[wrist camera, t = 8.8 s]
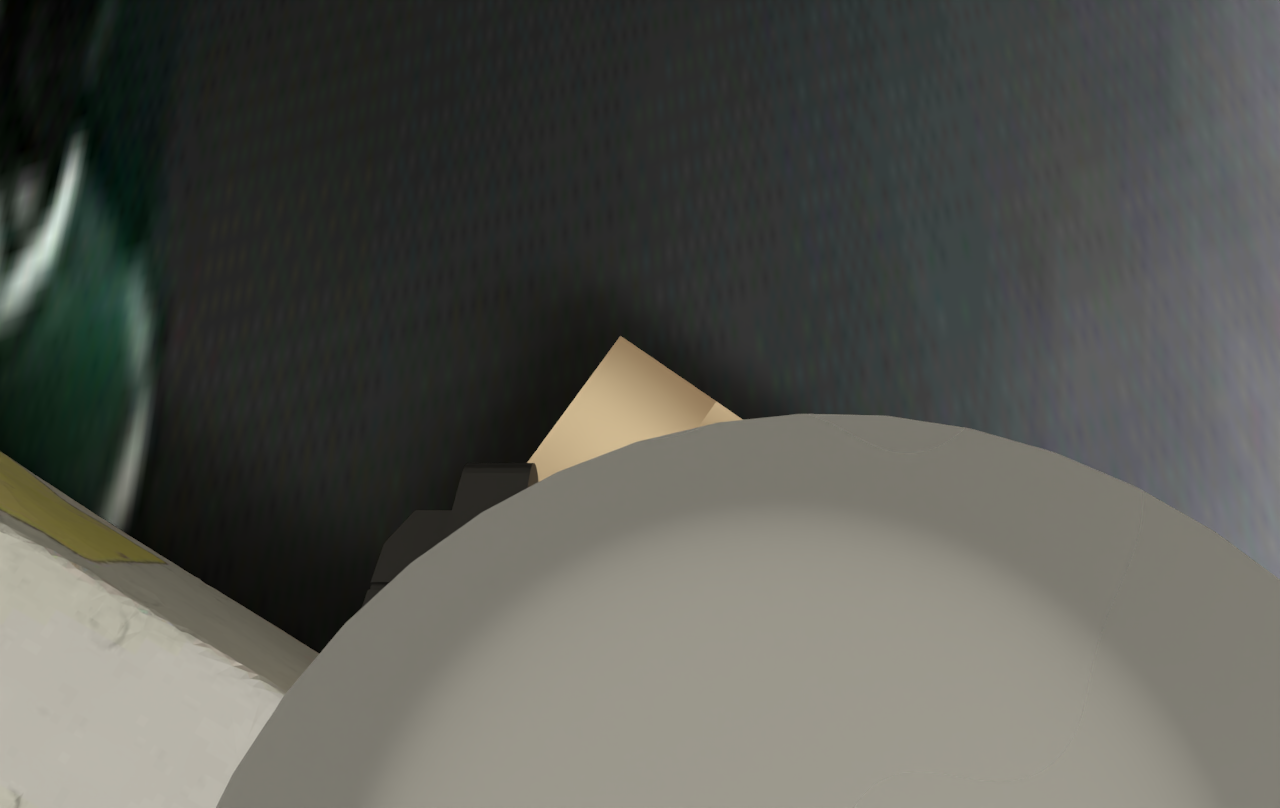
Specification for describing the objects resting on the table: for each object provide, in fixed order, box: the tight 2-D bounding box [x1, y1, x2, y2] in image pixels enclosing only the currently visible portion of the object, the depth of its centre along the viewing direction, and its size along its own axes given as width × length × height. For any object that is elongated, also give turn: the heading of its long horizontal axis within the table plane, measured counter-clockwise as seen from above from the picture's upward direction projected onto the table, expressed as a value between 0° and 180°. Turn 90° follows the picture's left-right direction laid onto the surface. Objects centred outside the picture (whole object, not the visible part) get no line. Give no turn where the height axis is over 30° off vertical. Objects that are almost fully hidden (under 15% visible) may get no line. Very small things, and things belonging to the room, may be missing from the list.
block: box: [0, 452, 319, 808], centre depth 25 cm, size 19×8×8 cm, turn 60°
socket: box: [527, 336, 743, 482], centre depth 27 cm, size 12×12×3 cm
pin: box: [216, 414, 1280, 808], centre depth 9 cm, size 4×4×14 cm
